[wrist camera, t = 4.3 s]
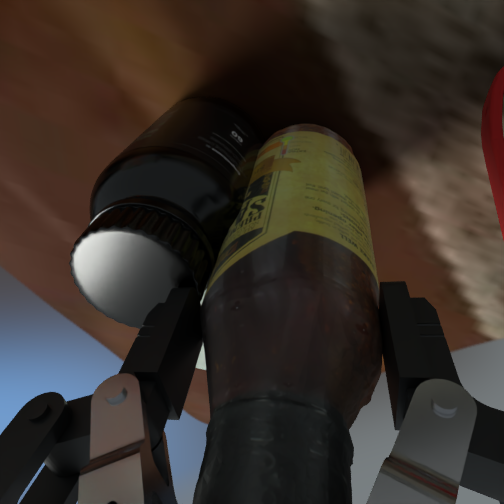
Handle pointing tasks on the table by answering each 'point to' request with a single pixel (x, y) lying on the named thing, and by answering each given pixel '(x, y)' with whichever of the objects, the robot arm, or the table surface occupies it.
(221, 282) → the sauce bottle
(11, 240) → the table surface
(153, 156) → the supplement bottle
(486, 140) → the tracker holder
